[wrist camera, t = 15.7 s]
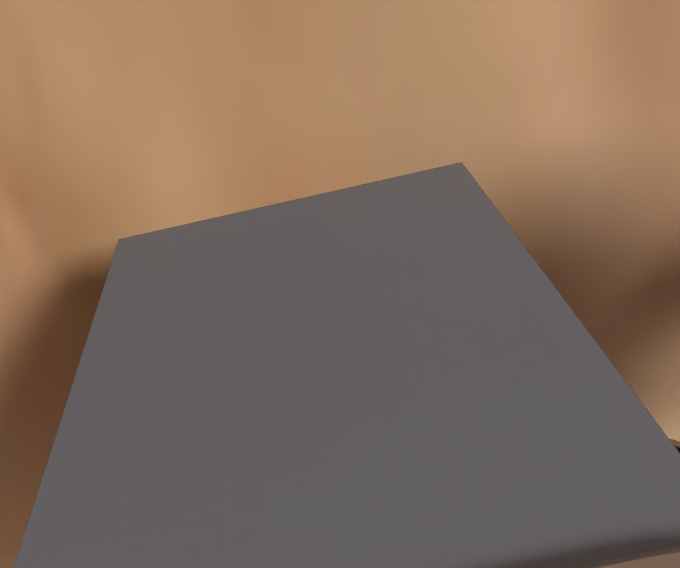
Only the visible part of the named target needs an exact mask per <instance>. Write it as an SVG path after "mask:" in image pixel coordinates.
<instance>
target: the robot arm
mask: <svg viewBox="0 0 680 568" xmlns="http://www.w3.org/2000/svg"><path fill="white" fill-rule="evenodd" d="M669 440H670V441H671V442H672V444H673V445H674V446H675V448H676V449H677V450H678V452H679V453H680V442H679V441H676V440H672V439H669ZM570 568H680V545H676V546H671V547H666V548H661V549H656V550H650V551H645V552H640V553H635V554H630V555H625V556H619V557H614V558H610V559H605V560H601V561H596V562H592V563H588V564H583V565H579V566H575V567H570Z"/></svg>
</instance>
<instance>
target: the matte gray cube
mask: <svg viewBox="0 0 680 568" xmlns="http://www.w3.org/2000/svg"><path fill="white" fill-rule="evenodd" d="M676 545H680V453H679V452H678V450H677V449H676V448H675V446H674V445H673V444H672V442H671V441H670V440H669V438H668V437H667V436H666V434H665V433H664V432H663V430H662V429H661V428H660V426H659V425H658V424H657V422H656V421H655V420H654V418H653V417H652V416H651V414H650V413H649V412H648V410H647V409H646V408H645V406H644V405H643V404H642V402H641V401H640V400H639V398H638V397H637V396H636V394H635V393H634V392H633V390H632V389H631V388H630V386H629V385H628V384H627V382H626V381H625V380H624V378H623V377H622V376H621V374H620V373H619V372H618V370H617V369H616V368H615V366H614V365H613V364H612V362H611V361H610V360H609V358H608V357H607V356H606V354H605V353H604V352H603V350H602V349H601V348H600V346H599V345H598V344H597V342H596V341H595V340H594V338H593V337H592V336H591V334H590V333H589V332H588V330H587V329H586V328H585V326H584V325H583V324H582V322H581V321H580V320H579V318H578V317H577V316H576V314H575V313H574V312H573V310H572V309H571V308H570V306H569V305H568V304H567V302H566V301H565V300H564V298H563V297H562V296H561V294H560V293H559V292H558V290H557V289H556V288H555V286H554V285H553V284H552V282H551V281H550V280H549V278H548V277H547V276H546V274H545V273H544V272H543V270H542V269H541V268H540V266H539V265H538V264H537V262H536V261H535V260H534V258H533V257H532V256H531V254H530V253H529V252H528V250H527V249H526V248H525V246H524V245H523V244H522V242H521V241H520V240H519V238H518V237H517V236H516V234H515V233H514V231H513V230H512V229H511V227H510V226H509V225H508V223H507V222H506V221H505V219H504V218H503V217H502V215H501V214H500V213H499V211H498V210H497V209H496V207H495V206H494V205H493V203H492V202H491V201H490V199H489V198H488V197H487V195H486V194H485V193H484V191H483V190H482V189H481V187H480V186H479V185H478V183H477V182H476V181H475V179H474V178H473V177H472V175H471V174H470V173H469V171H468V170H467V169H466V167H465V166H464V165H463V163H462V162H461V163H456V164H452V165H447V166H443V167H439V168H434V169H430V170H425V171H421V172H416V173H412V174H407V175H403V176H399V177H394V178H390V179H385V180H381V181H376V182H372V183H367V184H363V185H359V186H354V187H350V188H345V189H341V190H336V191H332V192H327V193H323V194H318V195H314V196H310V197H305V198H301V199H296V200H292V201H287V202H283V203H278V204H274V205H270V206H265V207H261V208H256V209H252V210H247V211H243V212H238V213H234V214H230V215H225V216H221V217H216V218H212V219H207V220H203V221H198V222H194V223H190V224H185V225H181V226H176V227H172V228H167V229H163V230H158V231H154V232H150V233H145V234H141V235H136V236H132V237H127V238H123V239H119V241H118V244H117V247H116V250H115V253H114V256H113V259H112V262H111V266H110V269H109V272H108V275H107V278H106V281H105V284H104V287H103V290H102V294H101V297H100V300H99V303H98V306H97V309H96V312H95V315H94V319H93V322H92V325H91V328H90V331H89V334H88V337H87V340H86V343H85V347H84V350H83V353H82V356H81V359H80V362H79V365H78V368H77V372H76V375H75V378H74V381H73V384H72V387H71V390H70V393H69V396H68V400H67V403H66V406H65V409H64V412H63V415H62V418H61V421H60V425H59V428H58V431H57V434H56V437H55V440H54V443H53V446H52V449H51V453H50V456H49V459H48V462H47V465H46V468H45V471H44V474H43V478H42V481H41V484H40V487H39V490H38V493H37V496H36V499H35V502H34V506H33V509H32V512H31V515H30V518H29V521H28V524H27V527H26V531H25V534H24V537H23V540H22V543H21V546H20V549H19V552H18V555H17V559H16V562H15V565H14V568H570V567H575V566H579V565H583V564H588V563H592V562H596V561H601V560H605V559H610V558H614V557H619V556H625V555H630V554H635V553H640V552H645V551H650V550H656V549H661V548H666V547H671V546H676Z"/></svg>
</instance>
